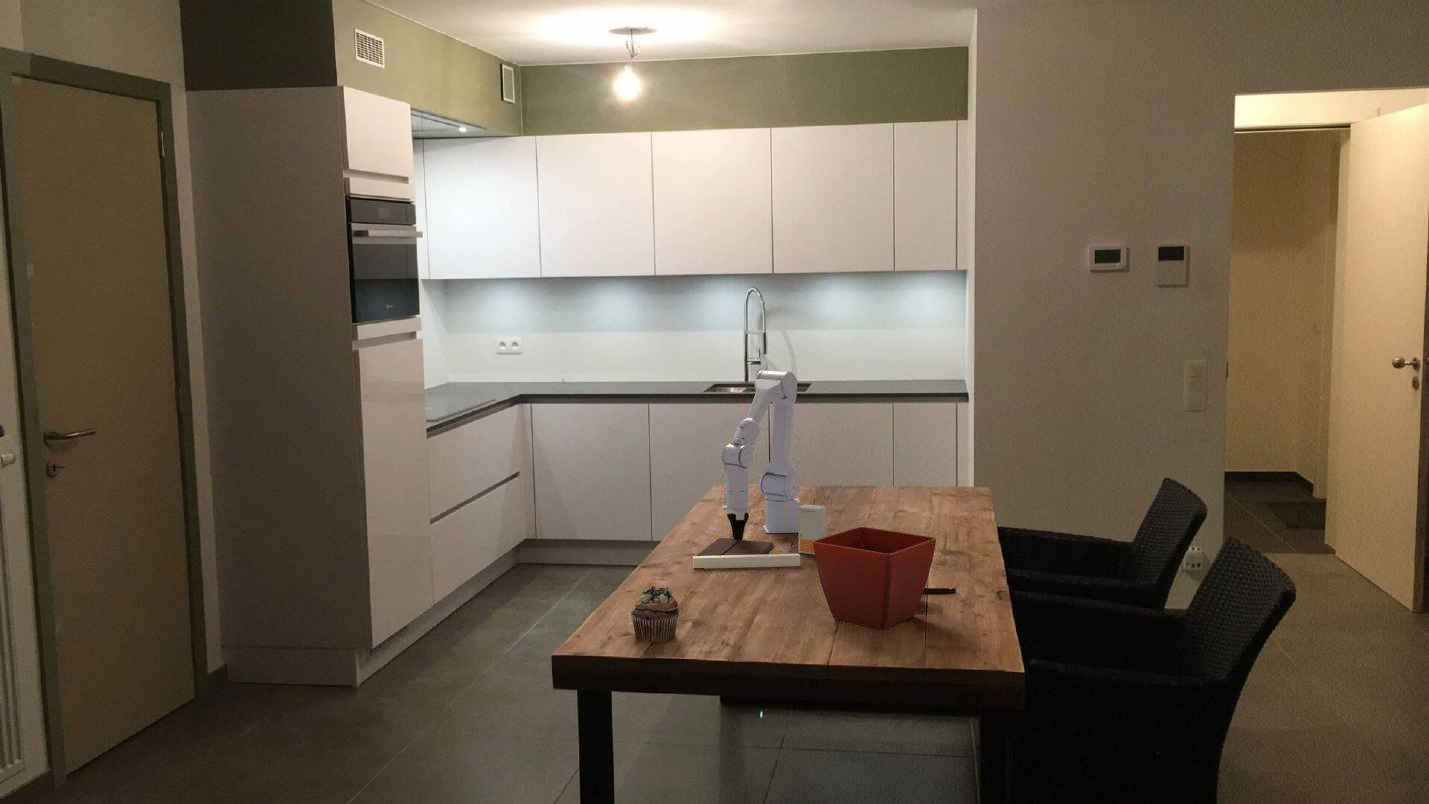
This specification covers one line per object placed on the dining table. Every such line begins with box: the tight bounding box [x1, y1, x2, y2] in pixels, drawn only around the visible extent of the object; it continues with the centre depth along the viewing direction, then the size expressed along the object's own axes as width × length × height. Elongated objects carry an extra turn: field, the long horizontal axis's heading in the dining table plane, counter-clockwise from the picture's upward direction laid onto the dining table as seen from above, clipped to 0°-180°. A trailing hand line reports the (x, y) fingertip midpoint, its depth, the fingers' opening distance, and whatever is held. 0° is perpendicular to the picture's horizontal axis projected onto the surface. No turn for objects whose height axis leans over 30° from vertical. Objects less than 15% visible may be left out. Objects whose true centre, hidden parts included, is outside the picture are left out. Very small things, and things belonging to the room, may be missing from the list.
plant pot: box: [813, 526, 937, 630], centre depth 260 cm, size 19×19×17 cm
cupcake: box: [630, 585, 680, 643], centre depth 249 cm, size 10×10×10 cm
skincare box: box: [797, 504, 827, 556], centre depth 316 cm, size 6×4×12 cm
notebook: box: [695, 537, 775, 556], centre depth 316 cm, size 15×20×2 cm
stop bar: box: [692, 553, 801, 569], centre depth 303 cm, size 26×2×3 cm, turn 95°
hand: (738, 540), depth 327 cm, fingers closed, pressing on notebook
